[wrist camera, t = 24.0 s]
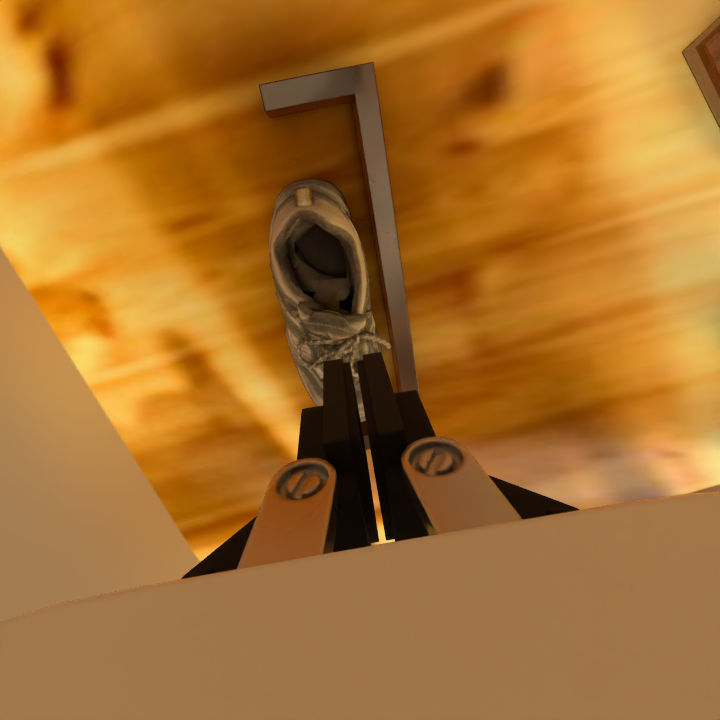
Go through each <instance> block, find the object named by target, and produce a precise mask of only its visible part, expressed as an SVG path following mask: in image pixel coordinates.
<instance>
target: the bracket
mask: <svg viewBox="0 0 720 720" xmlns="http://www.w3.org/2000/svg"><path fill="white" fill-rule="evenodd" d="M259 88H260V92H261V96H262V101H263V105H264V109H265V112H266V113H267V114H268V115H269V117H270V118H273V117H278V116H283V115H288V114H293V113H298V112H304V111H309V110H314V109H319V108H324V107H329V106H334V105H339V104H344V103H349V102H352V107H353V113H354V119H355V125H356V131H357V137H358V144H359V150H360V156H361V162H362V168H363V175H364V181H365V187H366V193H367V199H368V205H369V212H370V218H371V224H372V230H373V236H374V242H375V249H376V255H377V261H378V267H379V273H380V280H381V286H382V292H383V298H384V304H385V310H386V317H387V323H388V329H389V335H390V341H391V347H392V354H393V360H394V366H395V372H396V378H397V384H398V391H399V392H405V391H411V390H416V391H417V393H418V395H419V397H420V394H419V387H418V380H417V373H416V365H415V358H414V351H413V344H412V336H411V329H410V322H409V315H408V308H407V300H406V293H405V286H404V279H403V271H402V264H401V257H400V250H399V243H398V235H397V228H396V221H395V214H394V206H393V199H392V192H391V185H390V177H389V170H388V163H387V156H386V149H385V141H384V134H383V127H382V120H381V112H380V105H379V98H378V91H377V84H376V76H375V69H374V63H373V62H371V63H366V64H360V65H355V66H350V67H345V68H340V69H335V70H330V71H325V72H320V73H315V74H310V75H305V76H300V77H295V78H290V79H285V80H280V81H275V82H270V83H265V84H260V85H259ZM361 426H362V432H363V437H364V443H365V449H366V450H367V449H370V443H369V437H368V431H367V425H366V421H363V422H361Z"/></svg>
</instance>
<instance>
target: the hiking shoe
mask: <svg viewBox="0 0 720 720" xmlns="http://www.w3.org/2000/svg"><path fill="white" fill-rule="evenodd" d="M269 248H270V264H271V270H272V273H273V278H274V282H275V287H276V295H277V297H278V299H279V301H280V305H281V308H282V311H283V314H284V318H285V324H286V337H287V340H288V343H289V348H290V350H291V353H292V356H293V360H294V363H295V366H296V368H297V370H298V372H299V375H300V377H301V380H302V382H303V384H304V386H305V388H306V390H307V392H308V394H309V395H310V397H311V399H312V400H313V402H314V403H315V404H316V406H323V361H329V360H335V359H341V358H342V361H343V363H347V362H350V364H351V370H352V375H353V381H354V387H355V392H356V398H357V404H358V409H359V415H360V420H361V422H363V421H366V419H365V413H364V407H363V401H362V395H361V389H360V383H359V376H358V370H357V364H356V361H358V360H363V356H362V355H364V354H370V353H376V352H381V354H382V349H381V344H383V345H385V346H386V348H387V349H389V348H391V345H390V344H389V342H388V341H387V340H385V339H382V338H381V337H379V336H378V333H377V330H376V328H375V321H374V318H373V316H372V311H371V302H370V300H371V299H370V286H369V276H368V269H367V263H366V258H365V253H364V249H363V246H362V244H361V242H360V239H359V236H358V234H357V232H356V230H355V228H354V226H353V224H352V221H351V215H350V211H349V207H347V204H346V201H345V199H344V197H343V195H342V193H341V192H340V191H339V189H338V188H337V187H335V186H333V185H332V184H330V183H328V182H326V181H322V180H316V179H309V180H303V181H297V182H293V183H292V184H290V185H288V186H286V187H285V188H284V189H283V190H282V192H281V193H280V194H279V195H278V197H277V199H276V201H275V206H274V208H273V217H272V223H271V230H270V237H269ZM380 343H381V344H380Z"/></svg>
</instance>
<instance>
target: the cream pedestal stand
mask: <svg viewBox="0 0 720 720" xmlns="http://www.w3.org/2000/svg"><path fill="white" fill-rule="evenodd" d="M683 54H684V56H685V58H686V60H687V62H688V64H689V66H690V68H691V70H692V72H693V74H694V76H695V78H696V81H697V83H698V85H699V87H700V89H701V91H702V93H703V95H704V97H705V99H706V101H707V103H708V105H709V107H710V109H711V111H712V113H713V115H714V117H715V119H716V121H717V123H718V125H719V127H720V17H719V18H718V19H717V20H716V21H715V22H714V23H713V24H711V25H710V26H709V27H708V28H707V29H706V30H705V31H704V32H703V33H702V34H701V35H700V36H699V37H698V38H697V39H696V40H695V41H694V42H692V43H691V44H690V45H689V46H688V47H687V48H686V49H685V50H684V51H683Z"/></svg>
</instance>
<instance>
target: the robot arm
mask: <svg viewBox="0 0 720 720" xmlns="http://www.w3.org/2000/svg"><path fill="white" fill-rule="evenodd" d="M362 356H363V360H358V361H356V364H357V370H358V376H359V383H360V389H361V395H362V401H363V407H364V413H365V419H366V425H367V431H368V437H369V443H370V449H371V455H372V461H373V466H374V472H375V478H376V484H377V490H378V496H379V501H380V507H381V513H382V519H383V525H384V530H385V536H386V540H391V539H395V542H391V543H385V544H379V545H373V546H371V543H374V542H379V538H378V531H377V524H376V517H375V511H374V504H373V497H372V490H371V483H370V476H369V470H368V463H367V456H366V449H365V443H364V437H363V432H362V426H361V420H360V415H359V409H358V404H357V398H356V392H355V387H354V381H353V375H352V370H351V364H350V362H347V363H343V361H342V358H341V359H335V360H329V361H323V406H317V407H312V408H306V409H302V414H301V424H300V435H299V445H298V455H297V460H296V461H294V462H291V463H289V464H287V465H286V466H284V467H282V468H281V469H280V470H279V471H278V472H277V473H276V474H275V475H274V476H273V478H272V479H271V481H270V483H269V486H268V488H267V491H266V493H265V496H264V499H263V501H262V504H261V507H260V509H259V512H258V514H257V516H256V517H255V518H254V519H253V520H251V521H250V522H249V523H248V524H247V525H245V526H244V527H243V528H242V529H240V530H239V531H238V532H237V533H236V534H234V535H233V536H232V537H231V538H229V539H228V540H227V541H226V542H225V543H223V544H222V545H221V546H220V547H218V548H217V549H216V550H215V551H214V552H212V553H211V554H210V555H209V556H207V557H206V558H205V559H204V560H203V561H201V562H200V563H199V564H198V565H196V566H195V567H194V568H193V569H191V570H190V571H189V572H188V573H187V574H185V575H184V576H183V577H182V578H181V579H180V580H175V581H168V582H163V583H157V584H152V585H146V586H140V587H135V588H130V589H124V590H119V591H115V592H110V593H106V594H101V595H96V596H91V597H87V598H82V599H77V600H72V601H67V602H63V603H59V604H56V605H52V606H49V607H45V608H41V609H38V610H34V611H31V612H27V613H25V614H22V615H19V616H16V617H14V618H11V619H8V620H6V621H3V622H0V720H720V492H709V493H693V494H684V495H677V496H669V497H662V498H654V499H647V500H640V501H632V502H625V503H619V504H613V505H607V506H601V507H595V508H589V509H583V510H579V509H577V508H575V507H573V506H570V505H567V504H564V503H562V502H559V501H556V500H554V499H551V498H548V497H546V496H543V495H540V494H538V493H535V492H532V491H529V490H527V489H524V488H521V487H519V486H516V485H513V484H511V483H508V482H505V481H503V480H500V479H497V478H495V477H492V476H489V475H487V473H486V472H485V471H484V470H483V468H482V467H481V466H480V464H479V463H478V462H477V461H476V459H475V458H474V457H473V456H472V454H471V453H470V452H469V451H468V449H467V448H466V447H465V446H464V445H462V444H461V443H460V442H458V441H456V440H453V439H450V438H446V437H436V435H435V433H434V431H433V428H432V426H431V424H430V421H429V419H428V416H427V414H426V412H425V409H424V407H423V405H422V402H421V400H420V397H419V395H418V393H417V391H416V390H411V391H405V392H399V393H394V392H393V389H392V386H391V383H390V379H389V376H388V373H387V370H386V367H385V363H384V360H383V357H382V354H381V352H376V353H370V354H364V355H362Z"/></svg>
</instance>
